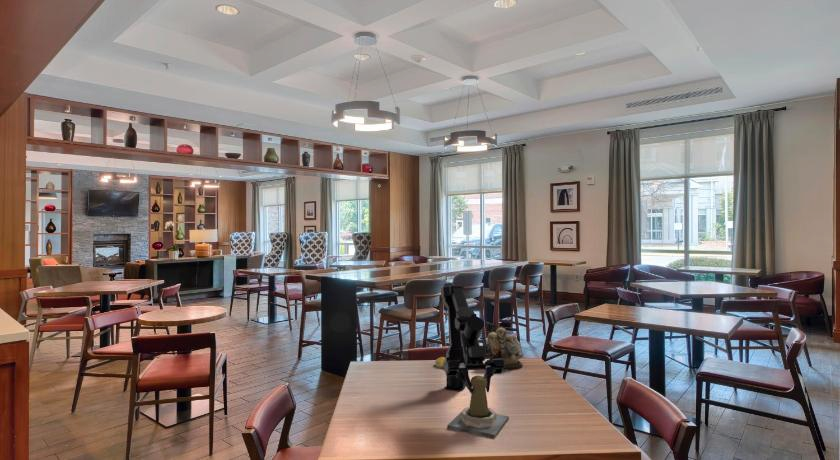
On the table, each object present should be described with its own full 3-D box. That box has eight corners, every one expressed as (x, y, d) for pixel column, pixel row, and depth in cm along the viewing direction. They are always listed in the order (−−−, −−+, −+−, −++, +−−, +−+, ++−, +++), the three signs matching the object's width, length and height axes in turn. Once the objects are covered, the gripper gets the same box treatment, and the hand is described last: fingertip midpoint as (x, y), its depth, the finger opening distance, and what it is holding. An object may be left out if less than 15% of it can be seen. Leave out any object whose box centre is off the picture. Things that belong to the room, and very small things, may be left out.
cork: (481, 417, 144) (481, 381, 143) (465, 411, 148) (465, 376, 147) (492, 411, 148) (492, 376, 148) (476, 406, 152) (476, 372, 152)
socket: (447, 428, 144) (447, 417, 144) (464, 411, 158) (464, 400, 158) (495, 438, 138) (495, 426, 138) (508, 419, 151) (508, 408, 151)
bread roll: (440, 362, 216) (440, 353, 216) (458, 365, 211) (458, 356, 211) (431, 367, 209) (431, 358, 209) (449, 370, 204) (449, 361, 204)
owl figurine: (484, 370, 204) (484, 330, 204) (479, 363, 215) (479, 325, 215) (526, 369, 205) (525, 330, 205) (518, 362, 216) (518, 324, 216)
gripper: (447, 335, 150) (454, 381, 139) (503, 333, 153) (515, 378, 142) (442, 353, 158) (449, 398, 147) (496, 351, 161) (506, 395, 150)
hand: (479, 392), depth 146 cm, fingers closed on cork, 5 cm apart
